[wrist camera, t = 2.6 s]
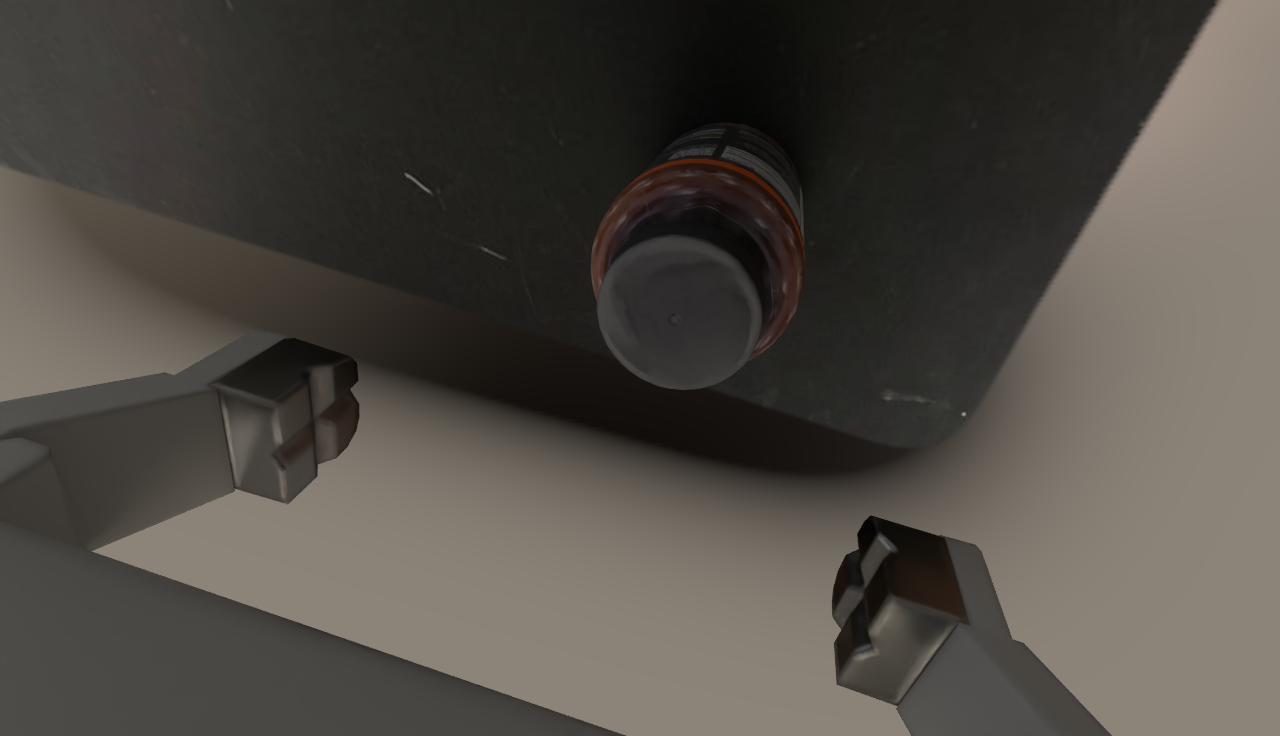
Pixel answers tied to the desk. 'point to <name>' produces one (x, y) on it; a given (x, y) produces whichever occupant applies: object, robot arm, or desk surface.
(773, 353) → the desk surface
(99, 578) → the robot arm
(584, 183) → the desk surface
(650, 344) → the supplement bottle
